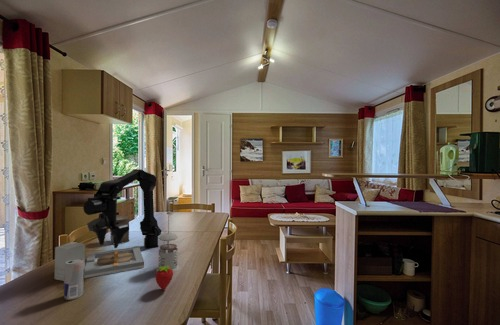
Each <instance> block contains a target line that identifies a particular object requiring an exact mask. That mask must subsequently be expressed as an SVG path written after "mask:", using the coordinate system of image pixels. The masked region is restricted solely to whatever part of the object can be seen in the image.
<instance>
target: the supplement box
mask: <svg viewBox="0 0 500 325" xmlns="http://www.w3.org/2000/svg"><path fill="white" fill-rule="evenodd" d="M77 258H80V259H83V262H84V270H83V276H84V271H85V266H86V243H83V242H82V243H81V242H76V241H75V242H74V241H71V242H68V243H65V244H61V245H59V246H56V247H54V280H58V281H62V282H64V270H65V263H66V261H68V260H71V259H77Z"/></svg>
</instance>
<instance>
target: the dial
mask: <svg viewBox="0 0 500 325" xmlns="http://www.w3.org/2000/svg"><path fill="white" fill-rule="evenodd" d="M115 250H116V251H114V253H111V254H107V255H104V256H102V257H100V258H98V260H97V264H98V265H99V266H105V265H111V264H114V263H123V262H129V261H131V260H132V254H130V253H127V252H117V250H118V249H115Z"/></svg>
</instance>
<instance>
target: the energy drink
mask: <svg viewBox="0 0 500 325" xmlns="http://www.w3.org/2000/svg"><path fill="white" fill-rule="evenodd" d="M83 270H84V262H83V259H80V258H77V259H71V260H68V261H66V263H65V270H64V281H63V284H64V285H63V298H64V300H67V301H72V300H76V299H78V298H80V297H81V296H83V294H84V275H83Z"/></svg>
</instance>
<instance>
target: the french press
mask: <svg viewBox="0 0 500 325" xmlns="http://www.w3.org/2000/svg"><path fill="white" fill-rule="evenodd" d="M166 215H172V211H170V210H169V211H166ZM167 220H168V222H167V223H168V224H167V228H168V230H167V231H168V232H167V233H163V234H161V235H160V236H158V240H159V241H163V242H167V243H163V244H162V245H159V250H158V267H157V268H156V269H155V271H156V273H157V272H158V270H160V269H158V268H160V267H163V266H165V265H166V266H170V267H169V268H171V269H172V270H173V273H175V272H177V271H179V269H180V266H179V265H178V248H177V247H178V246H177V244H176V243H170V242H169V241H171V242H172V241H174V240H177V239H178V238H179V236H178V235H177V234H176V233H171V232H170V216H168V219H167Z"/></svg>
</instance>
